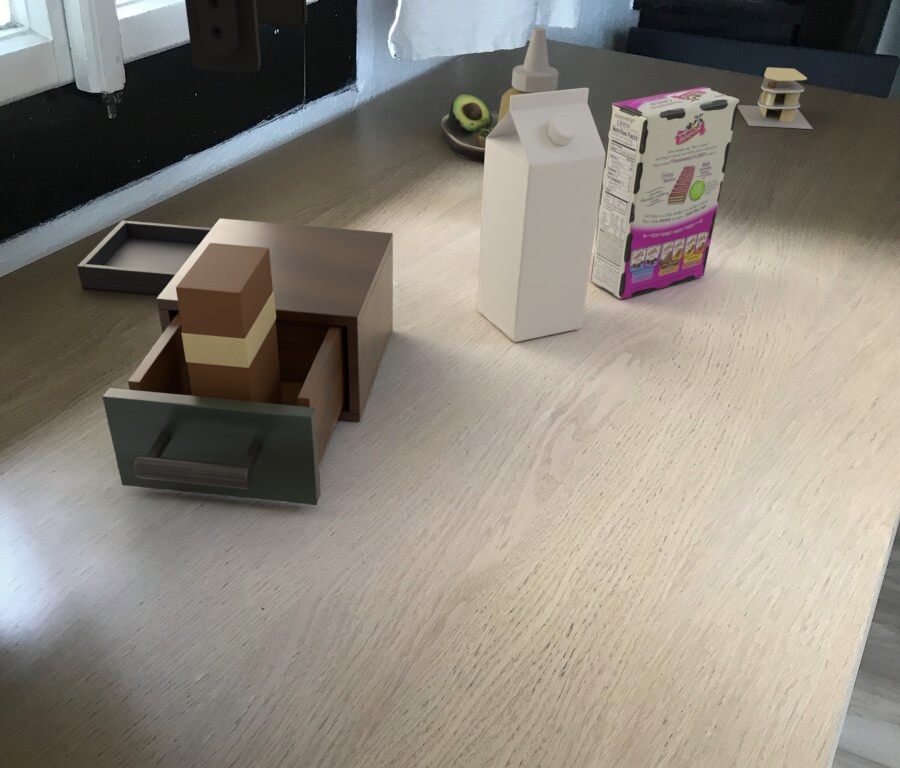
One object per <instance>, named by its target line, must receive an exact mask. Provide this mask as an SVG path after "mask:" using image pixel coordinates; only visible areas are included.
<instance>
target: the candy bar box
mask: <svg viewBox="0 0 900 768" xmlns="http://www.w3.org/2000/svg"><path fill="white" fill-rule="evenodd" d="M739 102H740V99H739V98H737V97H734V96H731V95H729V94H725V93H723V92H721V91H718V90H714V89H713V88H711V87H706V86H701V87H696V88H690V89H685V90H678V91H672V92H667V93H661V94H655V95H651V96H645V97H639V98H634V99H628V100H623V101H617V102H613V103H612V104H611V112H610V120H609V128H608V135H607V136H608V137H607V138H608V139H607V144H606V145H607V146H606V152H605V153H606V155H605V163H604V170H603V178H602V187H601V193H600V202H599V208H598V218H597V221H598V222H597V228H596V235H595V236H596V237H595V242H594V243H595V244H594V251H593V260H592V268H591V276H590V277H591V278H590V283H592V284H593V285H594V286H596V287H597V288H598V289H601V290H603V291H605V292H606V291H607V292H606V293H609V294H610V295H612V296H614V297H615V298H616V299H619V300H626V299H629V298H630V299H631V298H633V297H637V296H641V295H644V294H647V293H650V292H651V293H652V292H653V291H658V290H662V289H665V288H668V287H671V286H674V285H678V284H681V283H685V282H688V281H692V280H696V279H699V278H701V277H704V276H705V274H706V273H705V272H706V266H707V262H708V258H709V257H708V256H709V251H710V246H711V243H712V236H713V232H714V228H715V221H716V217H717V211H718V207H719V201H720V196H721V191H722V187H723V183H724V178H725V172H726V168H727V162H728V158H729V152H730V147H731V142H732V137H733V132H734V127H735V124H736V123H735V122H736V117H737V112H738V105H739Z"/></svg>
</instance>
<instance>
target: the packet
mask: <svg viewBox="0 0 900 768" xmlns="http://www.w3.org/2000/svg"><path fill="white" fill-rule="evenodd" d="M176 292H177V299H178V305H179V312H180V318H181V325H182V331H183V332H182V339H183V345H184V352H185V358H186V362H187V364H188V370H189V377H190V383H191V389H192V396H198V397H209V398H219V399H229V400H240V401H250V402H261V403H271V404H281V405H283V403H282V392H281V380H280V368H279V357H278V345H277V333H276V322H275V320H276V310H275V298H274V291H273V286H272V275H271V263H270V251H269V248H265V247H253V246H241V245H230V244H218V243H210V244H209V245H208V246H207V247H206V249H205V250H204V251H203V253H202V254H201V255H200V257H199V258H198V259H197V260H196V262H195V263H194V264H193V266H192V267H191V268H190V270H189V271H188V272H187V273H186V275H185V276H184V277H183V279H182V280H181V281H180V283H179V284H178V285H177V286H176Z"/></svg>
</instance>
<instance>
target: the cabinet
mask: <svg viewBox="0 0 900 768" xmlns="http://www.w3.org/2000/svg"><path fill="white" fill-rule="evenodd" d="M211 228H212V229H211V230H210V232H209V233H208V234H207V235H206V237H205V238H204V239H203V241H202V242H201V243H200V244H199V246H198V247H197V248H196V249H195V251H194V252H193V253H192V254H191V256H190V257H189V258H188V260H187V261H186V262H185V263H184V265H183V266H182V267H181V268H180V270H179V271H178V272H177V274H176V275H175V276H174V277H173V279H172V280H171V281H170V282H169V284H168V285H167V286H166V287H165V289H164V290H163V291H162V293H161V294H160V295H157V297H156V304H157V310H158V315H159V322H160V327H161V333H162V334H163V333H164V331H165V330H166V328H167V327H168V326H169V324H170V323H171V322H172V320H173V319H174V318H175V316H176V315H177V313H178V312H179V305H178V299H177V292H176V286H177V285H178V284H179V283H180V281H181V280H182V279H183V277H184V276H185V275H186V273H187V272H188V271H189V270H190V268H191V267H192V266H193V264H194V263H195V262H196V260H197V259H198V258H199V257H200V255H201V254H202V253H203V251H204V250H205V249H206V247H207V246H208V245H209V244H210V243H218V244H230V245H241V246H253V247H265V248H269V251H270V263H271V275H272V286H273V291H274V298H275V310H276V320H286V321H297V322H308V323H319V324H330V325H341V326H346V330H347V359H348V390H349V392H348V394H347V397H346V399H345V402H344V404H343V407H342V410H341V412H340V415H339V417H338V420H339V421H346V422H347V421H348V422H357V423H358V422H361V420H362V418H363V415H364V412H365V408H366V406H367V403H368V400H369V397H370V394H371V392H372V389H373V386H374V383H375V381H376V378H377V375H378V372H379V369H380V366H381V363H382V361H383V358H384V355H385V352H386V349H387V347H388V344H389V341H390V338H391V336H392V332H393V330H394V329H393V328H394V327H393V326H394V322H393V321H394V301H393V300H394V296H393V295H394V243H393V241H394V240H393V239H394V233H393V232H384V231H371V230H362V229H361V230H359V229H350V228H349V229H348V228H336V227H334V228H333V227H326V226H316V225H315V226H313V225H301V224H290V223H280V222H279V223H277V222H267V221H266V222H265V221H254V220H243V219H230V218H218V220H217V222H216V223H215V224H214V225H213V226H212V227H211ZM162 334H161V335H162ZM338 420H337V421H338Z"/></svg>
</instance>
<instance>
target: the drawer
mask: <svg viewBox="0 0 900 768" xmlns="http://www.w3.org/2000/svg"><path fill="white" fill-rule="evenodd" d="M275 322H276V333H277V345H278V357H279V368H280V380H281V392H282V403H283V405H281V404H271V403H261V402H250V401H240V400H229V399H219V398H209V397H198V396H192V389H191V383H190V377H189V370H188V364H187V362H186V358H185V352H184V345H183V339H182V332H183V331H182V325H181V318H180V312H178V313H177V315H176V316H175V318H174V319H173V320H172V322H171V323H170V324H169V326H168V327H167V328H166V330H165V331H164V333H163V334H161V335H160V337H159V338H158V339H157V341H156V342H155V343H154V345H153V346H152V347H151V349H150V350H149V351H148V353H147V354H146V356H144V358H143V360H142V361H141V362H140V364H139V365H138V367H137V368H136V369H135V371H134V372H133V373H132V375H131V376H130V378H129V379H128V380H127V384H128V388H129V389H124V388H113V387H108V388H107V390H106V391H105V392H104V394H103V395H102V403H103V407H104V410H105V415H106V419H107V424H108V429H109V433H110V438H111V443H112V446H113V451H114V455H115V460H116V465H117V468H118V474H119V478H120V482H121V486H124V487H125V486H126V487H135V488H145V489H155V490H164V491H165V490H166V491H175V492H185V493H192V494H202V495H203V494H204V495H214V496H223V497H233V498H243V499H252V500H261V501H271V502H281V503H282V502H283V503H291V504H300V505H310V506H318V503H319V501H320V498H321V480H320V479H321V478H320V466H321V464H322V461H323V459H324V456H325V454H326V450H327V448H328V446H329V443H330V440H331V438H332V436H333V433H334V430H335V428H336V425H337V422H338V417H339V415H340V412H341V410H342V407H343V404H344V402H345V399H346V397H347V394H348V392H349V390H348V359H347V330H346V326H341V325H330V324H319V323H308V322H297V321H286V320H275Z"/></svg>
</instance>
